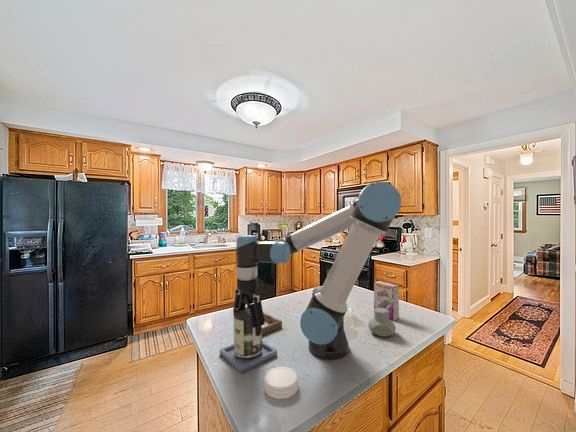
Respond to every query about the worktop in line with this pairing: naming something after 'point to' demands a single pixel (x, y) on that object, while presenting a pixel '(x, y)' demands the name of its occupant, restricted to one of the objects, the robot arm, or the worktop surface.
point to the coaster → (281, 383)
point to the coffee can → (245, 334)
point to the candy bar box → (387, 298)
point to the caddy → (273, 326)
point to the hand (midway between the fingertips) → (248, 338)
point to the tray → (247, 363)
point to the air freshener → (381, 323)
